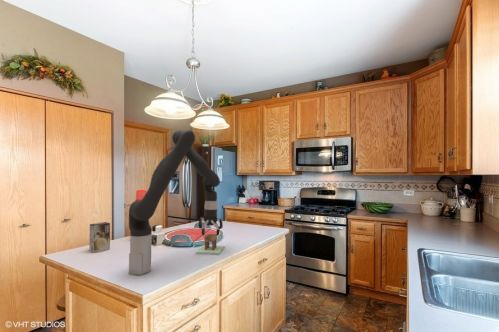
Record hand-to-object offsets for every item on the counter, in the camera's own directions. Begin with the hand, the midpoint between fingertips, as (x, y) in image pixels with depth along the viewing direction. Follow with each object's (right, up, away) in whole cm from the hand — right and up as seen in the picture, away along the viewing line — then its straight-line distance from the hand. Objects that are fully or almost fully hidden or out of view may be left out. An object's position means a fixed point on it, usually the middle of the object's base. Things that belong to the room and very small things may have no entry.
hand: (210, 235), depth 150 cm
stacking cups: (-51, -10, +23) cm, 57 cm away
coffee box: (-66, -9, 0) cm, 67 cm away
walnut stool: (0, -8, 0) cm, 8 cm away
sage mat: (0, -9, 0) cm, 9 cm away
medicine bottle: (-37, -10, +14) cm, 41 cm away
